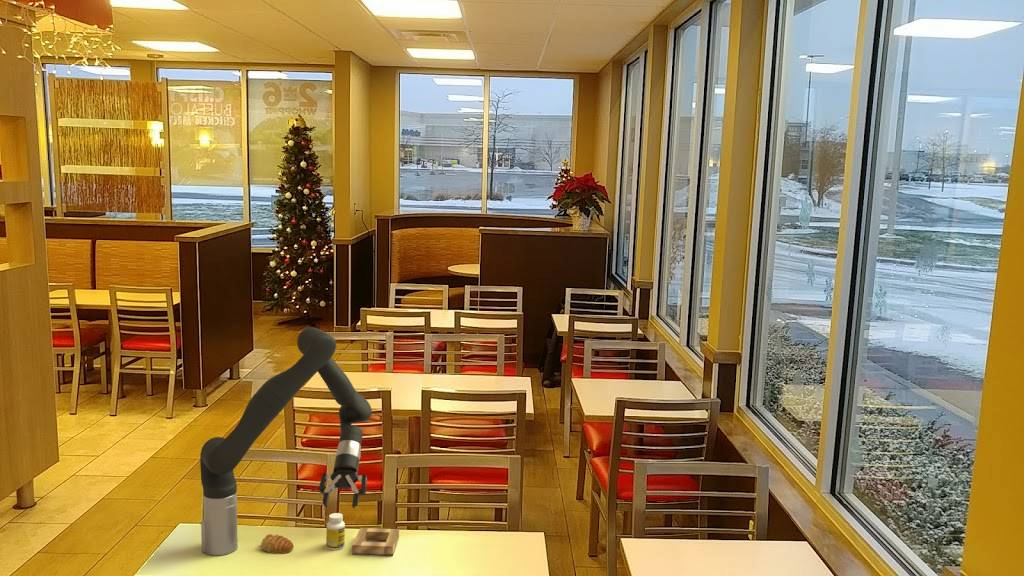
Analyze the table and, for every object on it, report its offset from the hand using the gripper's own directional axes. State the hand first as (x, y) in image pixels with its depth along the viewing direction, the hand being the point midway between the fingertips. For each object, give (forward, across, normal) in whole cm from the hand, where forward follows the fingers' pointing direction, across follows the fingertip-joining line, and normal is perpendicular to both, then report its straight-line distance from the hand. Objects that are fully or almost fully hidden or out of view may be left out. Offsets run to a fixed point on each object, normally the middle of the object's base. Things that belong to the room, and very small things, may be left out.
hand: (339, 506), depth 245 cm
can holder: (+11, +12, +4) cm, 16 cm away
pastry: (+13, -17, +2) cm, 22 cm away
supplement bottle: (+11, 0, +3) cm, 12 cm away
